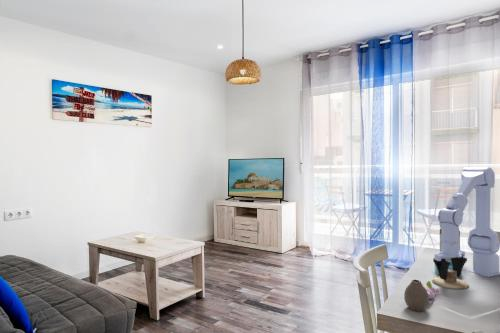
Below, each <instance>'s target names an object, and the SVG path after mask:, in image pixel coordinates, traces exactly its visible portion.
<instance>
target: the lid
mask: <svg viewBox="0 0 500 333" xmlns="http://www.w3.org/2000/svg"><path fill="white" fill-rule="evenodd" d="M432 280H433V282H434V283H435V284H437V285H439V286H438V287H440V286H442V287H441V288H443V287H446V288H445V289H448V288H452V289H451V290H456V289H463V290H466V289H465V288H467V287H468V285H469V284H468V282H467V281H466V280H463V279H459V278H458V277H457V271H454V270H450V269H448V272H447V279H446V280H444V279H441V278H440V276H436V277H433V279H432ZM434 283H433V284H434ZM435 284H434V285H435ZM437 285H436V286H437Z"/></svg>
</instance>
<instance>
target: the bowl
mask: <svg viewBox="0 0 500 333" xmlns="http://www.w3.org/2000/svg"><path fill="white" fill-rule="evenodd" d="M447 262H450V265H449V268H448V269H450V270H453V266H452V262H451V261H447ZM434 273H435V275H438V276H439V272H438V269H437V267H436V265H435V264H434ZM462 275H463V272H461V275H460V277H459V278H461V277H463V276H462Z"/></svg>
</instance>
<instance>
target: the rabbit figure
mask: <svg viewBox="0 0 500 333" xmlns="http://www.w3.org/2000/svg"><path fill="white" fill-rule="evenodd" d="M424 288H425V289H426V291H427V293H428V296H429V300H430V299H434V298H435V297H436V295H441V293H440V292H439V288H435V287H433V285H432V283H431V281H430V280H428V281H426V287H425V286H424Z"/></svg>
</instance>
